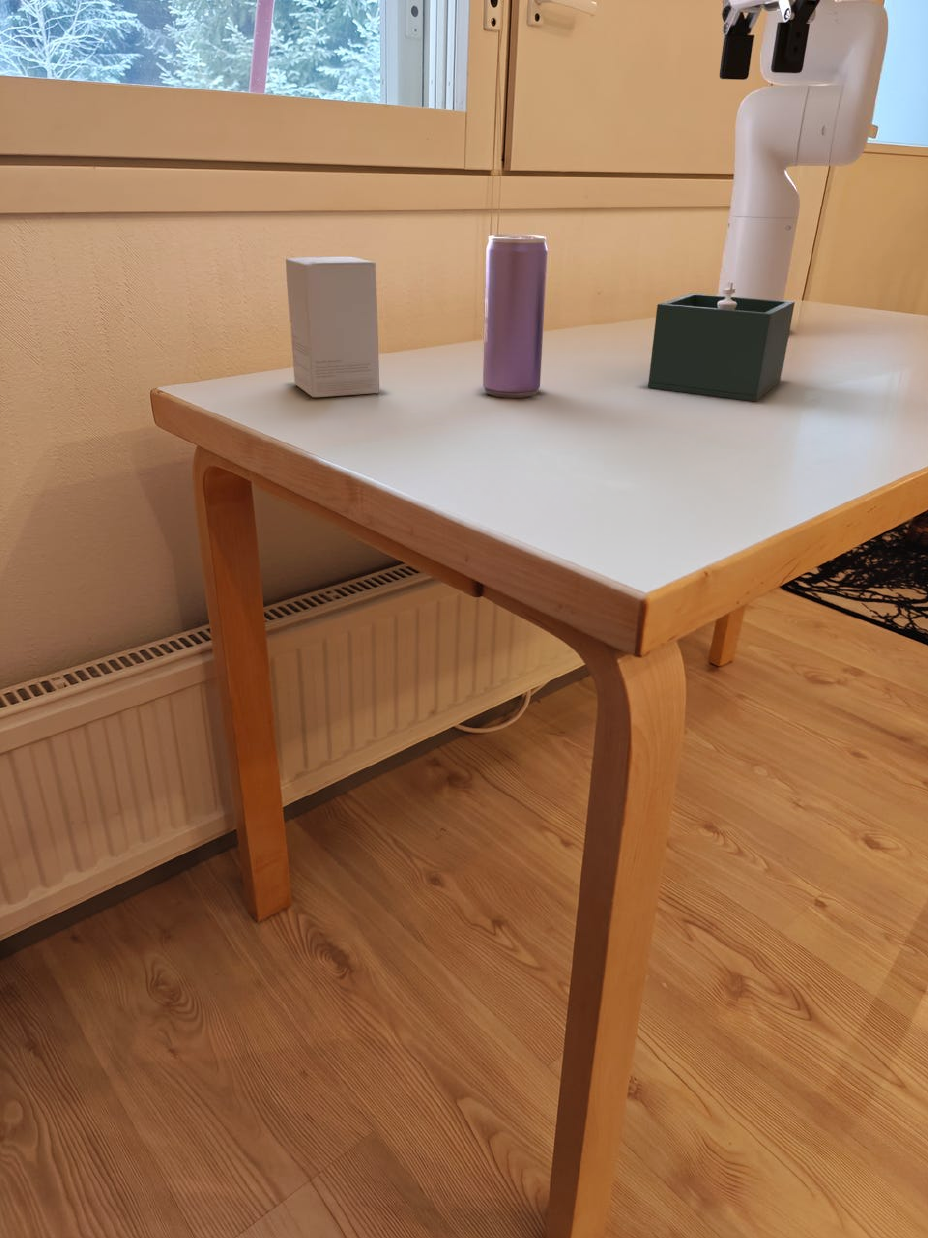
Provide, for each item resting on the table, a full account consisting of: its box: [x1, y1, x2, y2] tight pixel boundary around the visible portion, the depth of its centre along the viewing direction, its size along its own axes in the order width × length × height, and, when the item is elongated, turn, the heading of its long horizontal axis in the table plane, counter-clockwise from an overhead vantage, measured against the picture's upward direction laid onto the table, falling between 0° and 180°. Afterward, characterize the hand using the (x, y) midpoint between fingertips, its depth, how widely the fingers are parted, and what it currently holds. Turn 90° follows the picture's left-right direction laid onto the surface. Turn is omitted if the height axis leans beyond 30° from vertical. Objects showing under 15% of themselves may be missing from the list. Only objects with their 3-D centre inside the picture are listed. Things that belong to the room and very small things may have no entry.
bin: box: [647, 293, 796, 403], centre depth 94 cm, size 12×12×9 cm
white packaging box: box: [285, 256, 380, 398], centre depth 87 cm, size 7×7×13 cm
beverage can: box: [482, 234, 549, 399], centre depth 87 cm, size 6×6×15 cm
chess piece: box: [717, 282, 737, 310], centre depth 93 cm, size 5×5×10 cm
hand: (758, 75), depth 88 cm, fingers open, 9 cm apart
